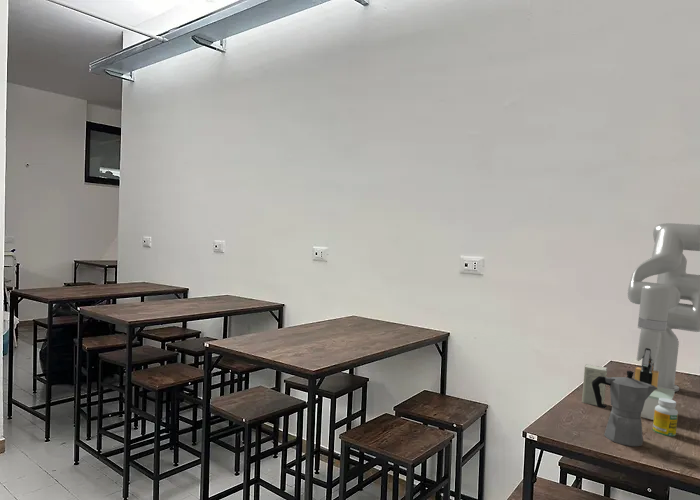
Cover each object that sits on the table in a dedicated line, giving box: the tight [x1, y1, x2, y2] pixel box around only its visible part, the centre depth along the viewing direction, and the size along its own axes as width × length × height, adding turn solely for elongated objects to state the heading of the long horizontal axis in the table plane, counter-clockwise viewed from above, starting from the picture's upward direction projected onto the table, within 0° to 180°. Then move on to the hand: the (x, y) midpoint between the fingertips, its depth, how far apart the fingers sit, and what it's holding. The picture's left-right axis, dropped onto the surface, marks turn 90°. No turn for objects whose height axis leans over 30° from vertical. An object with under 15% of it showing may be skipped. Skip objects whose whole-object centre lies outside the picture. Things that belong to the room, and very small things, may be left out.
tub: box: [641, 398, 659, 421], centre depth 151 cm, size 12×14×7 cm
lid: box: [634, 366, 675, 400], centre depth 151 cm, size 13×15×7 cm
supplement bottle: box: [652, 398, 679, 437], centre depth 135 cm, size 5×5×10 cm
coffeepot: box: [592, 370, 657, 447], centre depth 130 cm, size 15×9×18 cm, turn 78°
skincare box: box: [581, 364, 608, 407], centre depth 156 cm, size 6×4×12 cm
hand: (645, 383), depth 155 cm, fingers closed on lid, 3 cm apart
